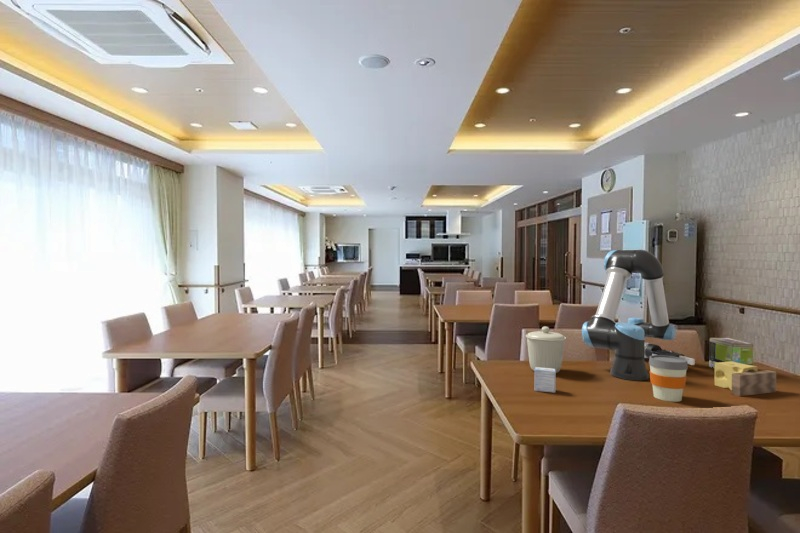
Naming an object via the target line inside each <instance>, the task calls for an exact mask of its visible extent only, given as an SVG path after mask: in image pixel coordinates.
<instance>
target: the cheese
mask: <svg viewBox="0 0 800 533" xmlns="http://www.w3.org/2000/svg"><path fill="white" fill-rule="evenodd" d="M754 371H759V369H758V366H757V365H753V366H752V365H746V364H741V363H737V362H733V361H729V362H719V363H715V368H714V386H716V387H719V388H723V389H728V390H730V391H732V374H733V373H743V372H754Z"/></svg>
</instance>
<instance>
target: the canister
mask: <svg viewBox="0 0 800 533" xmlns="http://www.w3.org/2000/svg"><path fill="white" fill-rule="evenodd" d="M525 338H526V344H527V352H528V360H529V366H530V369H531V370H532V371H534V372H535V367H540V368H552V369H555V371H556V374H557V373H559V372H560V371H561V369H562V364H563V357H564V348H565V342H566V340H567V337H566V336H564V335H563V334H562V333H559V332H555V331H550V327H549V326H542V327H541V331H539V330H537V331H531V332H528V333H526V334H525Z"/></svg>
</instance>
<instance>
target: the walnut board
mask: <svg viewBox="0 0 800 533" xmlns="http://www.w3.org/2000/svg"><path fill="white" fill-rule="evenodd" d="M771 393H777V372H776V371H774V370H773V371H772V370H769V369H768V370H767V369H766V370H765V369H764V370H758V371H754V372H743V373H733V374H732V390H731V395H735V396H738V397H744V396H751V395H752V396H753V395H761V394H771Z"/></svg>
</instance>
